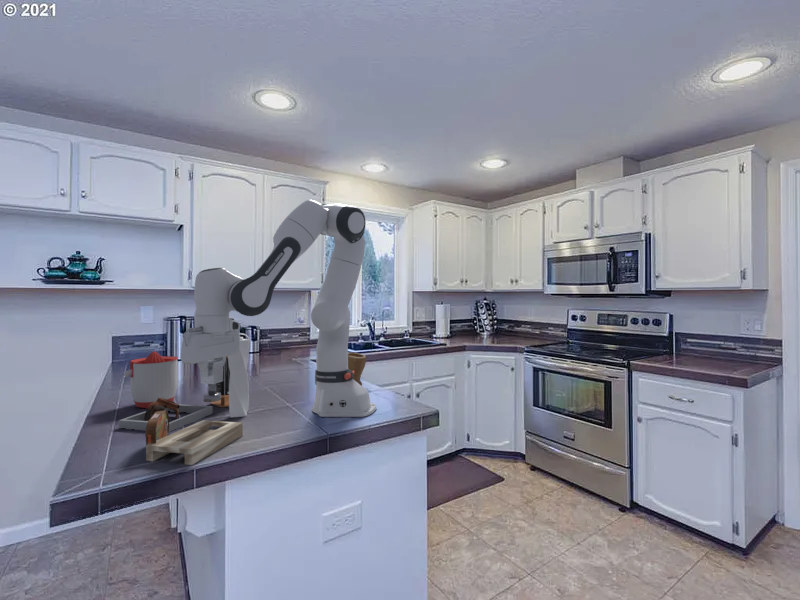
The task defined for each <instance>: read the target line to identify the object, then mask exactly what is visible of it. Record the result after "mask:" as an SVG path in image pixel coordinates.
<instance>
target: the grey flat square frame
mask: <svg viewBox="0 0 800 600" xmlns="http://www.w3.org/2000/svg"><path fill="white" fill-rule="evenodd" d="M179 405H180V407H179V408H178V409H179V413H181V412H186V414H187V415H184V416H182V417H180V418H177V419H173V420H171V421H169V433H171V432H173V431H176V430H177V429H180V428H182V427H185V426H187V425H190V424H191V422H192V423H195V422H196V421H199V420H201V419H203V418H205V416H206V417H208V416H210V415H212V414H213V406H212V405H199V404H198V405H197V404H194V405H193V404H179ZM165 410H167V412H168V411H170V413H176V411H174V410H173V409H169V408H165ZM146 411H147V410H146ZM146 411H143V412H139V413H136V414H133V415H130V416H128V417H124V418H122V419H119V420H118V429H119V428H126V429H125V430H132V429H134V431H145V429H146V425H147V422H148V421H143V420H144V415H145V413H146ZM168 413H169V412H168ZM198 419H199V420H198ZM184 425H185V426H184ZM175 429H176V430H175Z"/></svg>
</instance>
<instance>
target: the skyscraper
mask: <svg viewBox="0 0 800 600" xmlns="http://www.w3.org/2000/svg"><path fill="white" fill-rule="evenodd" d="M239 334H240V349H239V351H238V353H237V354H233V355H229V356H228V363H229V369H230V380H229V406H228V408H229V411H228V413H229V418H239V417H247V416H248V415H247V414H248V413H249V411H250V410H249V409H250V407H249V406H250V389H249V388H250V387H249V375H248V366H249V365H248V364H249V356H250V348H251V347H250V346H251V344H250V343H251V339H250V337H249V336H248V335H247V334H246V333H242V332H239ZM241 335H243V336H245V337H246V338H244V337H243V336H241ZM247 412H248V413H247Z"/></svg>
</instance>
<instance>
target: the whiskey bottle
mask: <svg viewBox="0 0 800 600" xmlns="http://www.w3.org/2000/svg"><path fill="white" fill-rule="evenodd" d="M229 319H232V320H234V321H235V318H231V317H229ZM212 360H217V358H216V359H212ZM229 380H230V369H229V363H228V356H226V361H225V364H224V366H223V381H222V382H219V383H216V392H218V393H221V400H219V401H215V402H210V403H211V404H212V405H214V406H215V407H216V406H217V407H219V408H226V407H229Z"/></svg>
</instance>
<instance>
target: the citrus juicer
mask: <svg viewBox="0 0 800 600" xmlns="http://www.w3.org/2000/svg"><path fill="white" fill-rule="evenodd" d="M178 359H179V357H177V356H165V355H163V356H162V355H161V354H160V353H158V352H157V351H152V352H151V353H149V355H148V356H147V357H142V358H136V359H131V360H130V361H129V369H128V370H126V371H125V372H124V373H123V378H127V377H129V378H130V380H129V381H130V384H129V385H130V392H131V393H130V394H131V397H132V399H133V402H134V405H135V407H137V408H142V409H144V408H145V409H148V407H149V405H150V404H151V403H153V402H155V401H157V399H158V398H163V399H166V400H169V401H171V402H173V401H174V399H175V397H176V393H177V390H178V383H179V382H178V381H179V379H178V376H179V375H178Z"/></svg>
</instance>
